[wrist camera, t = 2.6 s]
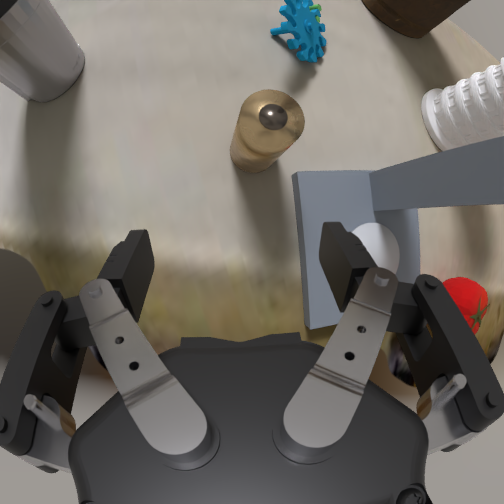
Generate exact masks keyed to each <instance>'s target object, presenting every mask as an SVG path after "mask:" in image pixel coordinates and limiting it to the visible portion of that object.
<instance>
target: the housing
mask: <svg viewBox="0 0 504 504" xmlns="http://www.w3.org/2000/svg"><path fill="white" fill-rule="evenodd" d="M304 123H305V120H304V114H303V112H302V109H301V107H300V106H299V104H298V103H297V102H296V101H295V100H294V99H293V98H292V97H290V96H289V95H287V94H285V93H283V92H280V91H277V90H262V91H258V92H256V93H253V94H252V95H250V96H249V97H248V98H247V99H246V100H245V101H244V103H243V105H242V107H241V110H240V114H239V117H238V121H237V124H236V128H235V132H234V135H233V139H232V142H231V146H230V155H231V158H232V160H233V162H234V163H235V165H236V166H237V167H238V168H240V169H241V170H243V171H246V172H249V173H258V172H262V171H264V170H266V169H267V168H269V167H270V166H271V165H272V164H273V163H274V162H275V161H276V160H277V159H278V158H279V157H280V156H281V155H282V154H283V153H284V152H285V151H286V150H287V149H288V148H289V147H290V146H291V145H292V144H293V143H294V142H295V141H296V140H297V139H298V138H299V137H300V136H301V134H302V132H303V129H304Z"/></svg>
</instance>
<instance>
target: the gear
mask: <svg viewBox="0 0 504 504" xmlns="http://www.w3.org/2000/svg"><path fill="white" fill-rule="evenodd" d="M284 1H285V3H286V4H287V5H284V6H281V7H280V10H279V12H280V14H281V15H283V16H285V17H286V18H287V20H288V21H287V22H281V27H279V28H274V29H271V30H270V32H271V34H272V35H279V34H285V33H292V34H293V35H294V37H295V39H288V40H287V44H288V47H289V49H298V47H299V45H301V51H298V52H297V54H296V55H297V57H298V59H299V60H300V61H305V60H307V61H308V62H317V57H322V56H323V55H324V53H323V50H322V49H321V47H322V46H326V42H327V41H326V39H325V38H324V37H323V36H322V35H321V33H320V32H325V25H324V24H320V23H319V22H320V18H319V17H321V14H320V11H321V6H320V5H319V4H318V5H313V2H312V0H284ZM302 1H303V4H302Z"/></svg>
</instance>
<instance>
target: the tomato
mask: <svg viewBox="0 0 504 504" xmlns="http://www.w3.org/2000/svg"><path fill="white" fill-rule="evenodd" d="M442 284H443V285H444V287H445V288H446V290H447V291H448V293H449V294H450V296H451V297H452V299H453V300H454V302H455V303H456V305H457V306H458V308H459V310H460V311H461V313H462V314H463V316H464V318H465V319H466V321H467V323H468V324H469V326H470V328H471V330H472V331H473V333H474V335H475V334H476V332H477V331H478V329H479V327H480V324H481V320H482V318H483V317H484V315H485V313H486V311H487V307H488V306H489V305H488V306H487V303H488V297H487V292H486V291H485V289H484V288H483V287H482V286H480V285H479V284H478V283H477V282H475V281H472V280H470V279H468V278H464V277H456V278H451V279H448V280H446V281H444V282H443V283H442Z"/></svg>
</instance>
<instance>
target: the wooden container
mask: <svg viewBox="0 0 504 504" xmlns="http://www.w3.org/2000/svg"><path fill="white" fill-rule="evenodd" d="M362 1H363V3H364V4H365V5H366V7H367V8H368V9H369V10H370V11H371V12H372V13H373V14H374V15H375V16H376V17H377V18H379V19H380V20H381V21H382V22H384V23H385V24H386V25H388V26H389V27H391V28H392V29H394V30H396V31H397V32H399V33H401V34H403V35H406V36H409V37H412V38H420V37H422V36H424V35H425V34H427V33H428V32H429V31H431V30H432V29H433V28H435V27H436V26H437V25H439V24H440V23H441V22H443V21H444V20H445V19H447V18H448V17H449V16H450V15H452V14H453V13H454V12H455V11H456V10H458V9H459V8H461V7H462V6H463V5H465V4H466V3H468V2H469V1H470V0H362Z"/></svg>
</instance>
